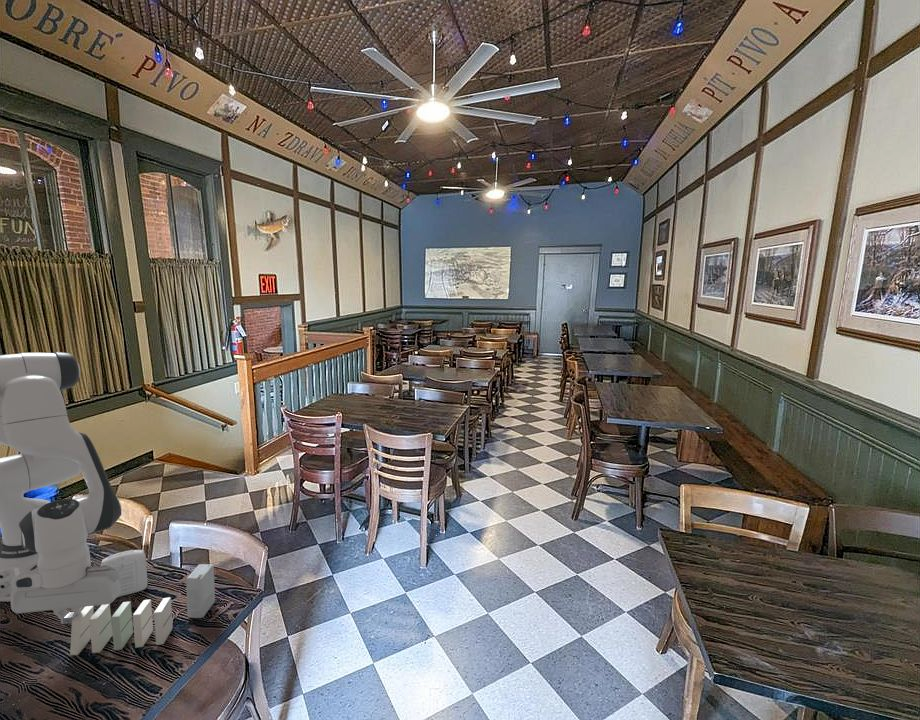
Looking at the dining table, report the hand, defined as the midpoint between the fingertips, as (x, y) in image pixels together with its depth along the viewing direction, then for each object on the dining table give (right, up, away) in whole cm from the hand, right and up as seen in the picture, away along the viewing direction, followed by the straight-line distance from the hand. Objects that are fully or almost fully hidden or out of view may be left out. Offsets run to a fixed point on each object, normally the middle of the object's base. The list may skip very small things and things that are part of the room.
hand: (70, 621), depth 98 cm
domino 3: (+14, -7, +5) cm, 17 cm away
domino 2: (+5, -7, +3) cm, 9 cm away
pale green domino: (+10, -7, +4) cm, 13 cm away
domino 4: (+19, -7, +6) cm, 21 cm away
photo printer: (-3, -5, +20) cm, 21 cm away
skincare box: (+22, -7, +15) cm, 27 cm away
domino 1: (+1, -7, +2) cm, 7 cm away
